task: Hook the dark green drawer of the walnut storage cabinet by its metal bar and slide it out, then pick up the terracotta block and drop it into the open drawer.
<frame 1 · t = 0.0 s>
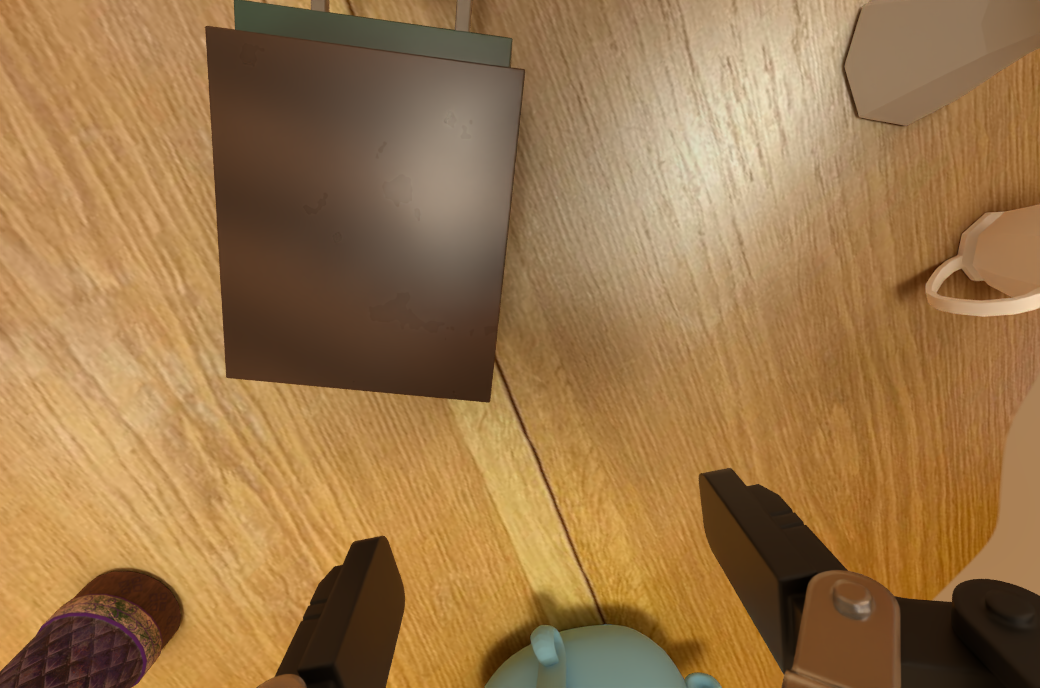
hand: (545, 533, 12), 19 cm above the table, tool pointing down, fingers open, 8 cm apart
cup: (964, 256, 30), on the table
drawer: (392, 137, 23), point 5 cm above the table, slide at 0.0 cm
flask: (904, 56, 27), on the table
mug: (123, 616, 36), on the table
cabinet: (406, 223, 29), on the table
decorative pot: (580, 676, 39), on the table
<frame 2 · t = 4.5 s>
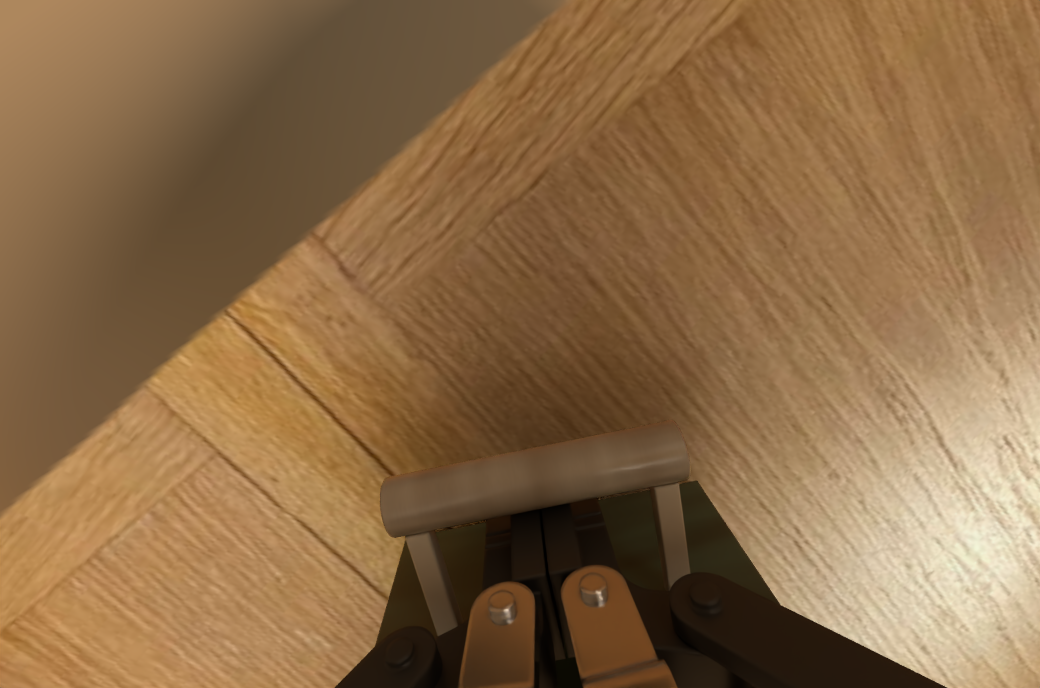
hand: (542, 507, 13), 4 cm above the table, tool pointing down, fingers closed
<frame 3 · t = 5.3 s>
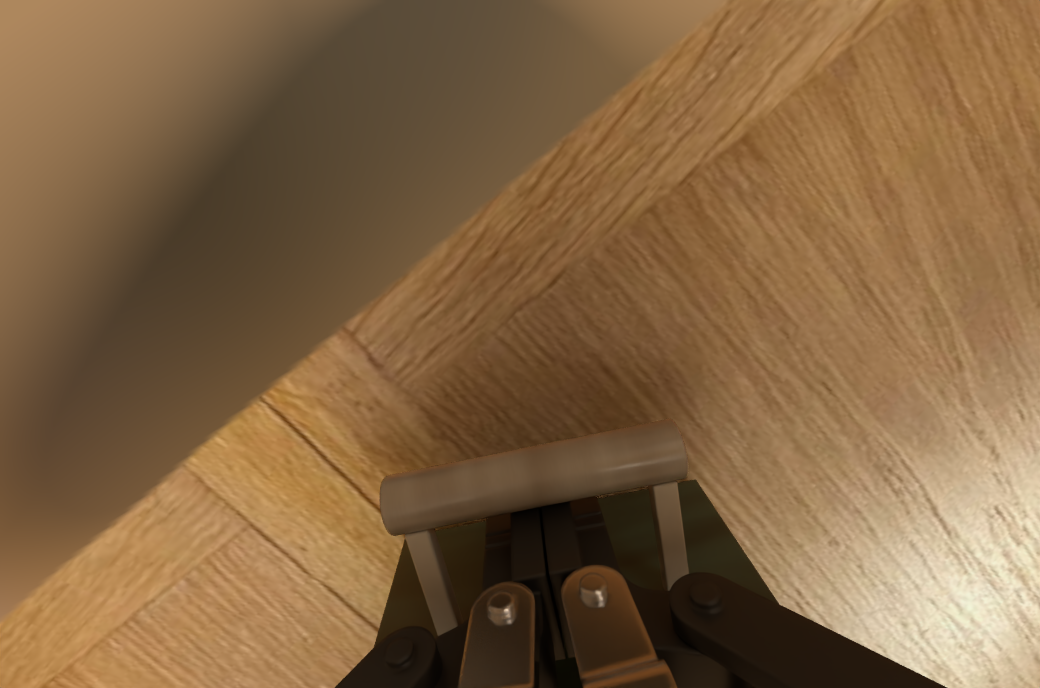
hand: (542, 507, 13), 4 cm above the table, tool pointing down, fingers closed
drawer: (583, 686, 15), point 5 cm above the table, slide at 7.2 cm, touching gripper
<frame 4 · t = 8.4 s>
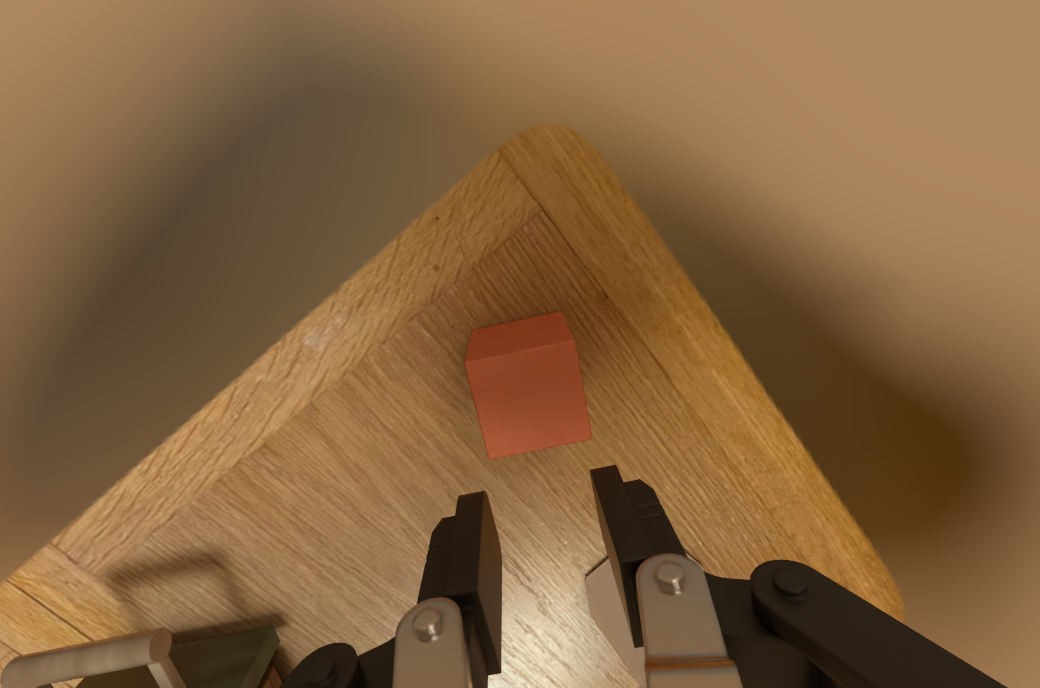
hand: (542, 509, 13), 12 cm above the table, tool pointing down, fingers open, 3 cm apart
flask: (644, 586, 29), on the table
block: (525, 362, 25), on the table
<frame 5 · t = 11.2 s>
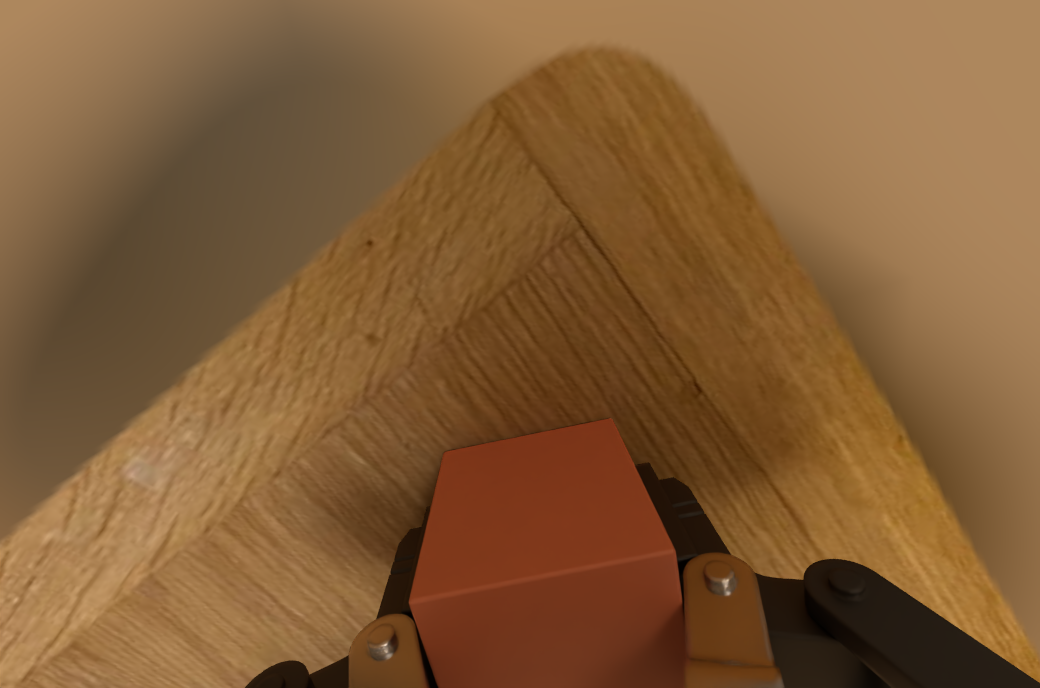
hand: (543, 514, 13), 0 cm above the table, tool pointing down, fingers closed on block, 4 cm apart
block: (543, 506, 13), on the table, touching gripper
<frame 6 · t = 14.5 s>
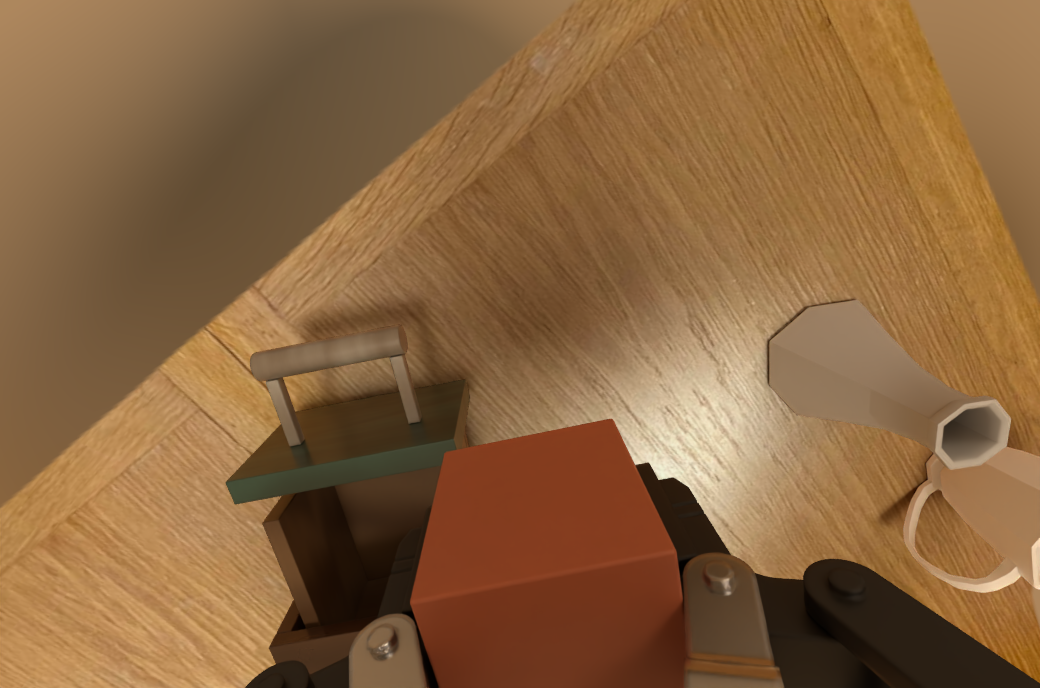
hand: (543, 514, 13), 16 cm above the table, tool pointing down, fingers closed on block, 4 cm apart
cup: (935, 476, 33), on the table
drawer: (381, 486, 26), point 5 cm above the table, slide at 7.4 cm
flask: (821, 356, 30), on the table
cabinet: (442, 591, 34), on the table
block: (544, 506, 13), point 16 cm above the table, touching gripper
when the fingers open (8 cm above the table, at t = 17.8 s): block drops 6 cm, resting on drawer.
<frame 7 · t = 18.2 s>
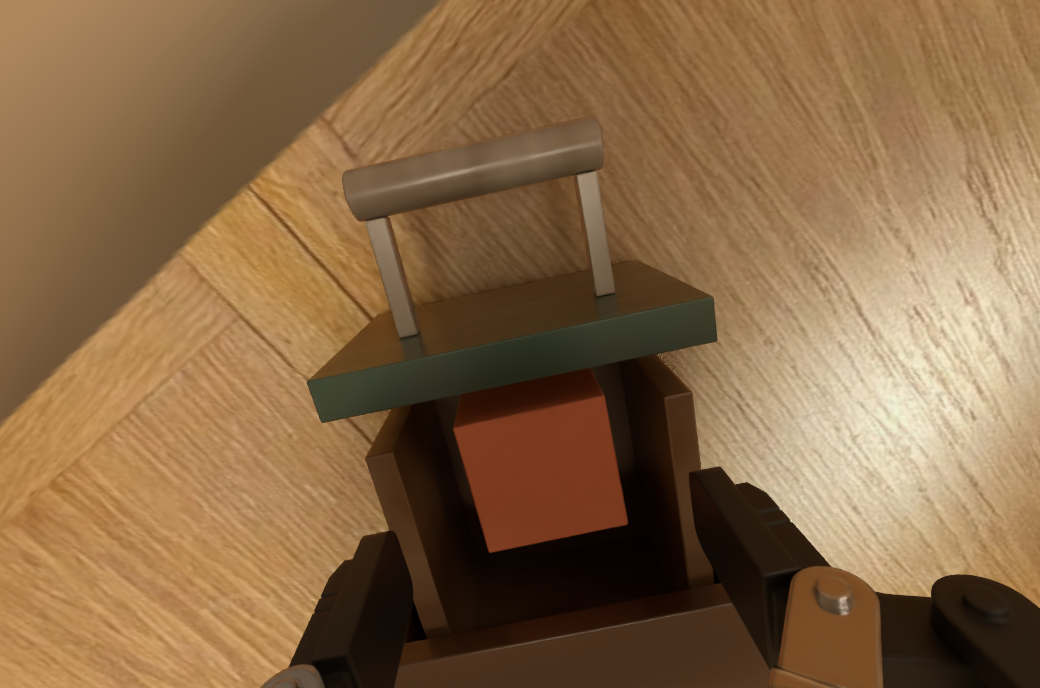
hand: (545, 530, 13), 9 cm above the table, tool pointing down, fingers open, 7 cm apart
drawer: (530, 413, 17), point 5 cm above the table, slide at 7.4 cm, touching block
cabinet: (571, 582, 25), on the table
block: (534, 409, 20), point 2 cm above the table, touching drawer
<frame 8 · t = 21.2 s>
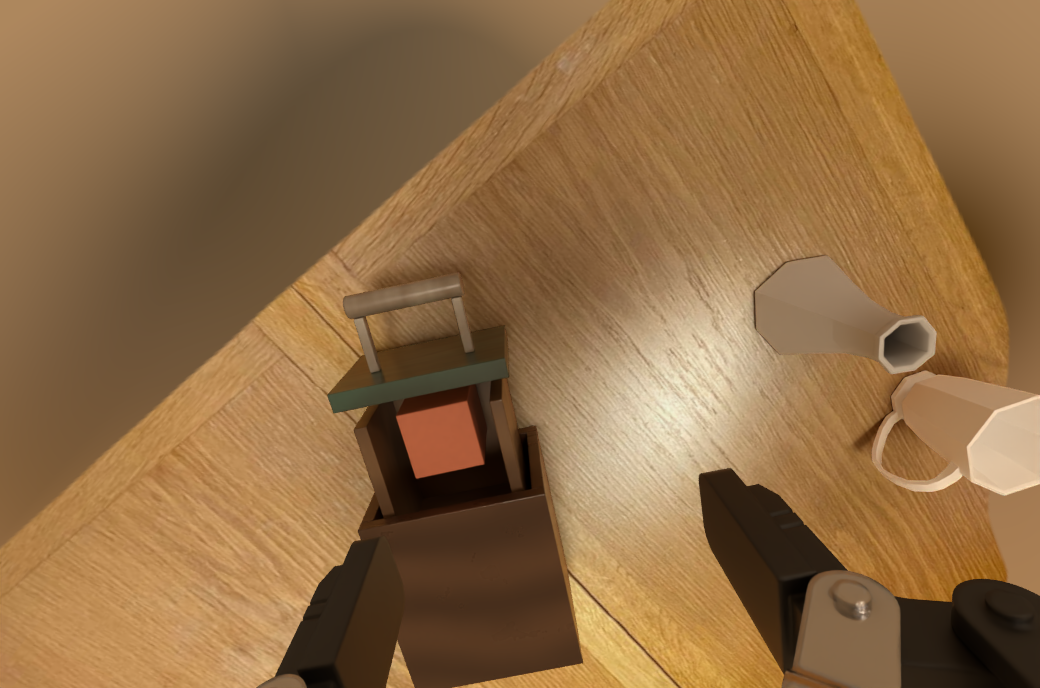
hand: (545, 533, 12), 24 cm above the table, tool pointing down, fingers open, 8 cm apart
cup: (899, 407, 39), on the table
drawer: (440, 409, 32), point 5 cm above the table, slide at 7.4 cm, touching block
flask: (799, 304, 36), on the table
cabinet: (482, 513, 40), on the table
block: (449, 407, 35), point 2 cm above the table, touching drawer
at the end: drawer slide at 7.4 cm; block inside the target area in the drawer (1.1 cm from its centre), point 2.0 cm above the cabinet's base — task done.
